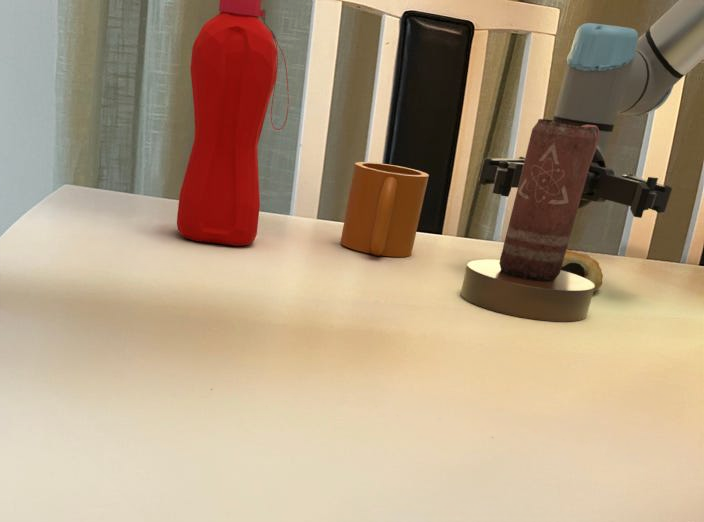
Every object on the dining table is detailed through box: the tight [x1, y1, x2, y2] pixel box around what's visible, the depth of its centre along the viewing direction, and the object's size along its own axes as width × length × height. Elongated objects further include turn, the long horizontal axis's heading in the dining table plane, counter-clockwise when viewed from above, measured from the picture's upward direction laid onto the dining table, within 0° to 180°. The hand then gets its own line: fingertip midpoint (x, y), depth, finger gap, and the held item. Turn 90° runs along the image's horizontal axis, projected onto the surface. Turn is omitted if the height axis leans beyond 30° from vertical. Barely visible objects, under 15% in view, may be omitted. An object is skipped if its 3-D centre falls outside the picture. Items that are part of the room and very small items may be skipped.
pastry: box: [561, 250, 604, 292], centre depth 115 cm, size 9×7×4 cm
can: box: [499, 118, 599, 281], centre depth 99 cm, size 6×6×14 cm
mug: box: [340, 161, 430, 258], centre depth 118 cm, size 9×12×9 cm
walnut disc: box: [460, 259, 595, 323], centre depth 104 cm, size 13×13×3 cm
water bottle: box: [176, 0, 290, 247], centre depth 110 cm, size 9×11×25 cm
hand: (574, 192), depth 104 cm, fingers open, 13 cm apart
